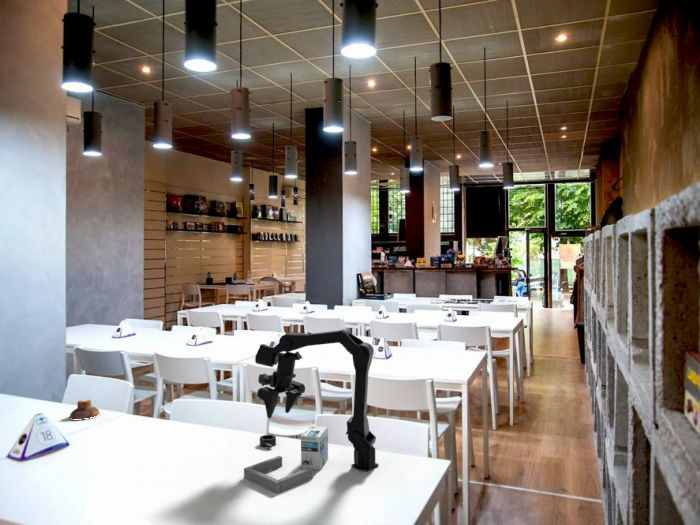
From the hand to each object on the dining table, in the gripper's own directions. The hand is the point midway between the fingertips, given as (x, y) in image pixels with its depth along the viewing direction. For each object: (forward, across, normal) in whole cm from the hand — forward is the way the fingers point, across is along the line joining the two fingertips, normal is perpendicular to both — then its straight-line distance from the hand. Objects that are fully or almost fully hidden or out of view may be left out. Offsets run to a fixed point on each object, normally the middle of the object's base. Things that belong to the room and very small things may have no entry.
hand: (278, 415), depth 180 cm
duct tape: (+17, -10, -10) cm, 22 cm away
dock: (+14, +11, +13) cm, 21 cm away
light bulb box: (+12, -4, +15) cm, 20 cm away
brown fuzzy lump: (+33, +4, -100) cm, 106 cm away
